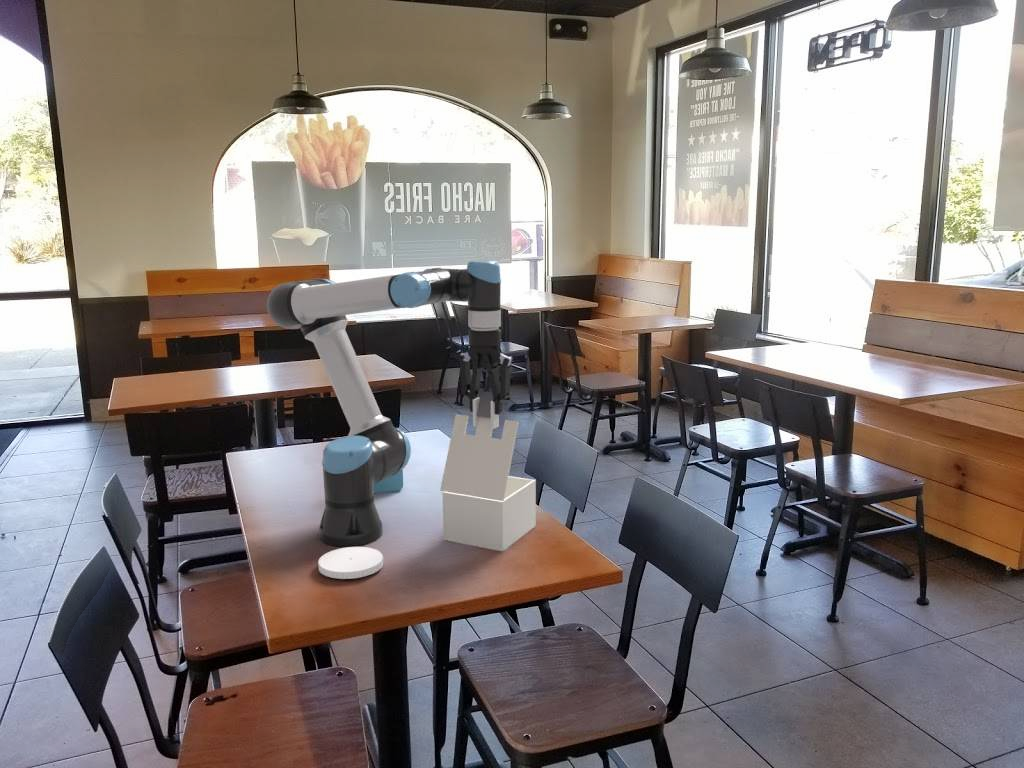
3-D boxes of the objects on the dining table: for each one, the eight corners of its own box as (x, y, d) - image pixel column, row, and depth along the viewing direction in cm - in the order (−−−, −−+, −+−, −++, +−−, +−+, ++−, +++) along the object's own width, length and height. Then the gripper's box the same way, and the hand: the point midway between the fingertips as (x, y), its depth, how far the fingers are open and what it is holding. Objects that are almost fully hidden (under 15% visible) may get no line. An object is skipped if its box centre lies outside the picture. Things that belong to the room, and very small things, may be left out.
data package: (401, 486, 238) (399, 445, 236) (403, 490, 234) (402, 450, 232) (359, 489, 235) (357, 449, 233) (360, 495, 231) (359, 453, 229)
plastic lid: (393, 573, 180) (393, 563, 180) (331, 588, 173) (331, 577, 173) (369, 552, 192) (368, 542, 192) (310, 565, 185) (309, 555, 184)
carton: (502, 551, 191) (502, 502, 189) (443, 539, 198) (442, 492, 196) (535, 525, 207) (535, 480, 205) (479, 516, 214) (478, 471, 212)
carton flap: (505, 501, 190) (500, 500, 187) (443, 491, 197) (437, 489, 194) (525, 398, 195) (520, 395, 192) (464, 391, 202) (458, 388, 199)
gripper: (525, 328, 191) (525, 426, 195) (460, 324, 198) (462, 419, 203) (510, 332, 184) (511, 434, 189) (444, 328, 191) (446, 426, 196)
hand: (486, 426), depth 196 cm, fingers closed on carton flap, 4 cm apart
